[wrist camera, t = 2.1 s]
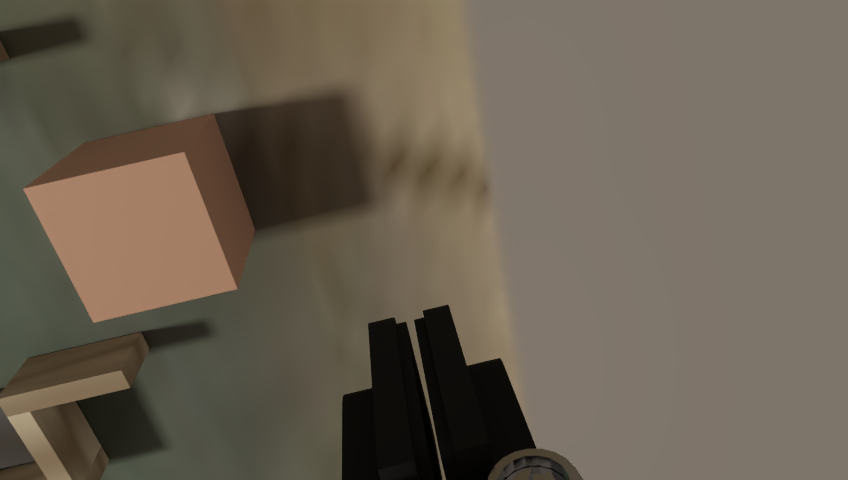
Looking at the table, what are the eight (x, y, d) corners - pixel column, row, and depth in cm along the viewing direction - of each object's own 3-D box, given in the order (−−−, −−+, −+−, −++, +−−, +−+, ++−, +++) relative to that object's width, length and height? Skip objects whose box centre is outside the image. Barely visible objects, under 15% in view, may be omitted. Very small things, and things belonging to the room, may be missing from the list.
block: (84, 142, 26) (23, 188, 21) (214, 113, 26) (184, 151, 21) (137, 257, 28) (93, 322, 23) (255, 229, 28) (237, 289, 23)
